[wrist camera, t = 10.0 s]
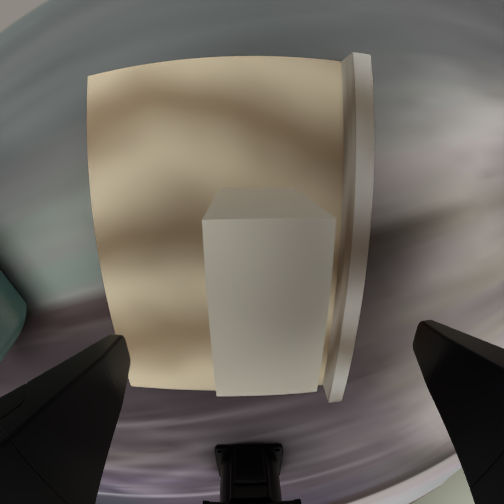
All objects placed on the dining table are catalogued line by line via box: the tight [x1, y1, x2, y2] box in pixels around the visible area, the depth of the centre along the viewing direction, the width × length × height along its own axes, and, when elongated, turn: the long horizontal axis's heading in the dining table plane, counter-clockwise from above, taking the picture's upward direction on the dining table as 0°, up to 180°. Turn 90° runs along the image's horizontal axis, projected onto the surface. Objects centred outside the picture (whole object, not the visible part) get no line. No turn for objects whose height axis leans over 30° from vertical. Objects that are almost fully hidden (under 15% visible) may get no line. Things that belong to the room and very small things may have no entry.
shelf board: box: [87, 52, 374, 403], centre depth 17 cm, size 22×16×3 cm
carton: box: [202, 187, 336, 396], centre depth 14 cm, size 4×7×8 cm, turn 0°
